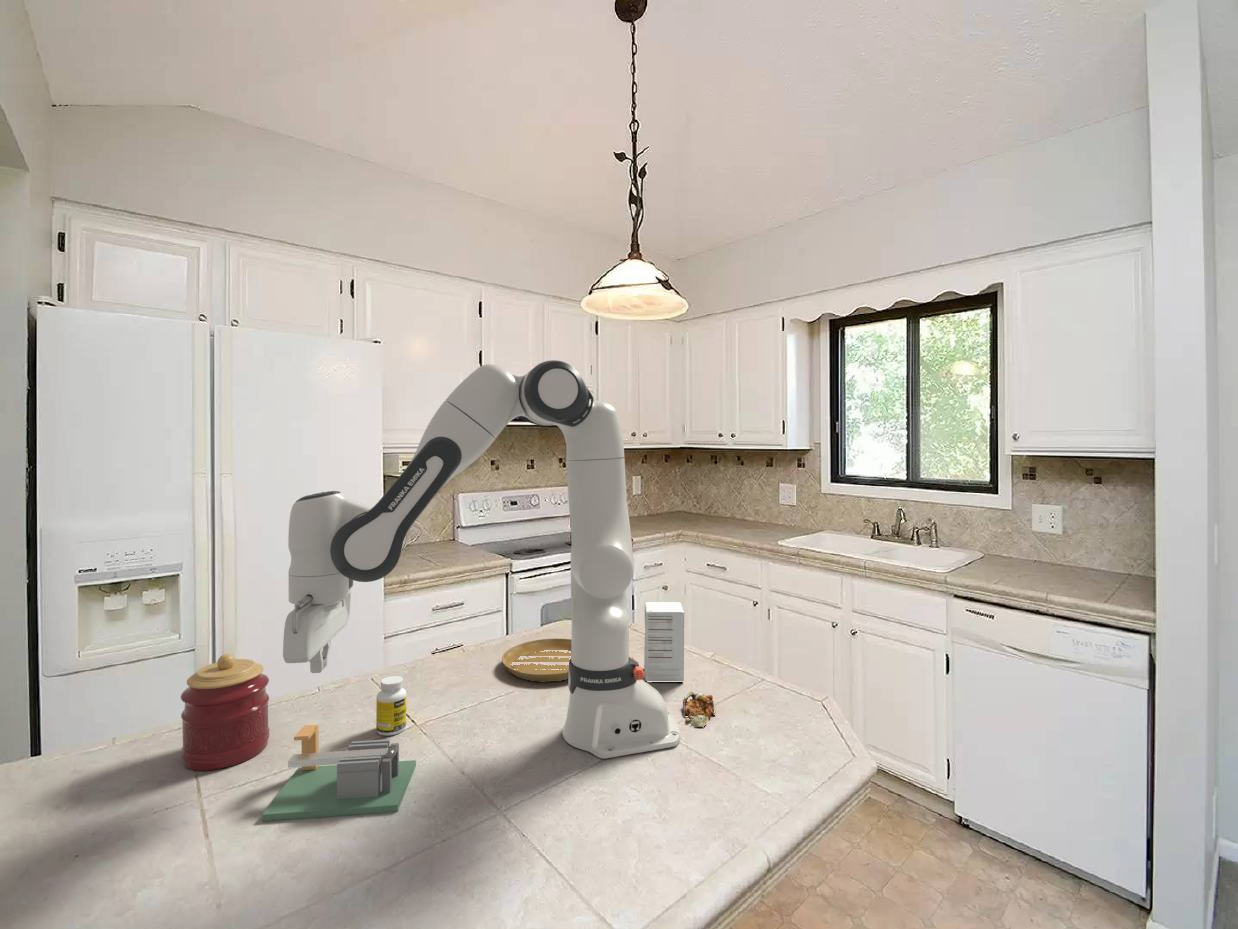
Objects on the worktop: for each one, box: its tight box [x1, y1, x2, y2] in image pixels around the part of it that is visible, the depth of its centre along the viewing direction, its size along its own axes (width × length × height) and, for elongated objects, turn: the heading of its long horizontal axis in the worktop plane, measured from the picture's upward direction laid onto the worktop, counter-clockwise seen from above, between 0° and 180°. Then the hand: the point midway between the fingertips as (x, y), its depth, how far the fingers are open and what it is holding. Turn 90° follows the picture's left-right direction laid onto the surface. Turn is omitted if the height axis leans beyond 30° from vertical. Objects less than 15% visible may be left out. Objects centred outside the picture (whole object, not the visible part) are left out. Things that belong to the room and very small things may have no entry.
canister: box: [180, 653, 271, 771], centre depth 102 cm, size 13×13×18 cm
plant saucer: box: [501, 637, 571, 683], centre depth 143 cm, size 24×24×3 cm
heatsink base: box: [261, 738, 417, 822], centre depth 91 cm, size 19×12×6 cm, turn 97°
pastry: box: [682, 691, 716, 728], centre depth 118 cm, size 7×12×4 cm, turn 178°
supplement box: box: [643, 601, 685, 681], centre depth 138 cm, size 10×9×17 cm
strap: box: [287, 744, 398, 769], centre depth 90 cm, size 16×3×1 cm, turn 97°
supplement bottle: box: [375, 675, 407, 737], centre depth 110 cm, size 5×5×10 cm
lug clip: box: [293, 724, 320, 770], centre depth 94 cm, size 2×4×7 cm, turn 7°
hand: (319, 669), depth 96 cm, fingers closed
